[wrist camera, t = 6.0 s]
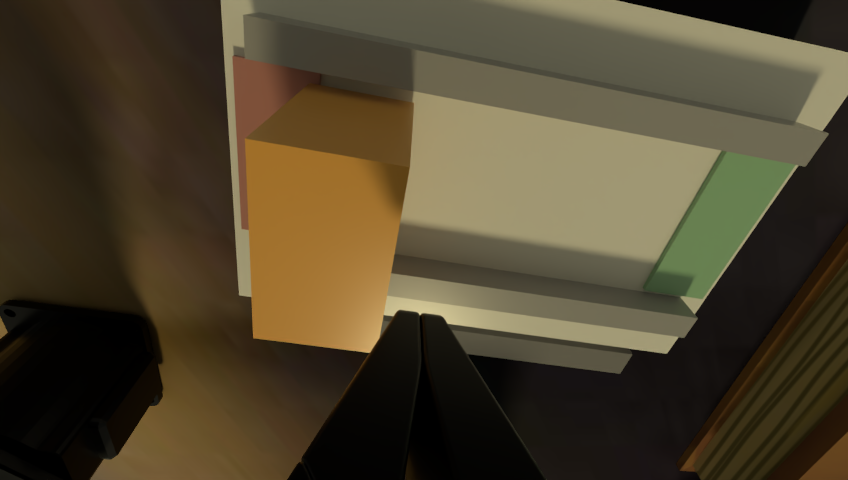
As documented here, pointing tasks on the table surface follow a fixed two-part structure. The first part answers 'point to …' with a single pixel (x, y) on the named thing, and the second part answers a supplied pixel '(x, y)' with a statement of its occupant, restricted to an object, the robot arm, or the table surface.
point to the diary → (788, 392)
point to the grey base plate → (537, 348)
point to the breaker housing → (551, 148)
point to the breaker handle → (326, 215)
